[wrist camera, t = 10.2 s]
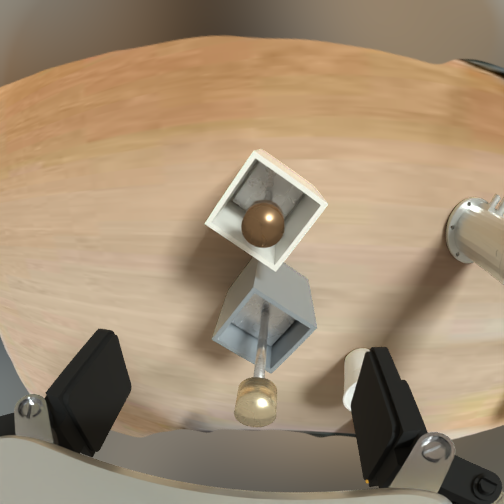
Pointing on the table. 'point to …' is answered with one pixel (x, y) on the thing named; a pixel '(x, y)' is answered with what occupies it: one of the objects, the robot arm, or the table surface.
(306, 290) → the grey open box
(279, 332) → the brass knobbed plunger
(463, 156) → the table surface
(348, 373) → the cup
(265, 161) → the white open box
